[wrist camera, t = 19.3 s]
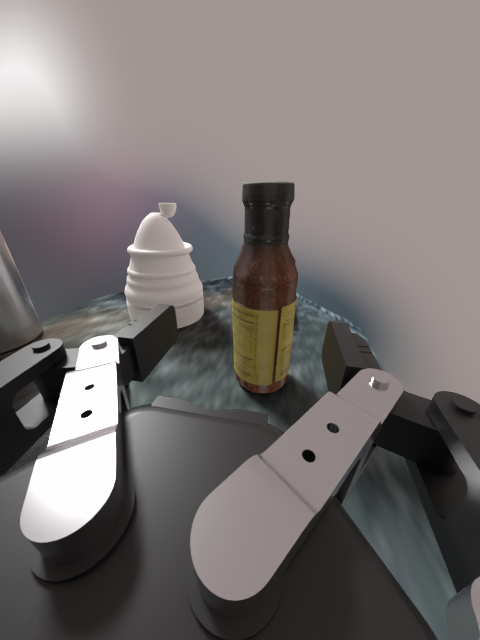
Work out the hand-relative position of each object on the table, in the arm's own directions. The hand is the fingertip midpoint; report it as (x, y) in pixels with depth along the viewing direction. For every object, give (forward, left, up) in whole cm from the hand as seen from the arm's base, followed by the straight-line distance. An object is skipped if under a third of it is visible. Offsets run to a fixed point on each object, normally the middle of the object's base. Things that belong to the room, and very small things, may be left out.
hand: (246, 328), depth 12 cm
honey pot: (-18, +25, -13) cm, 33 cm away
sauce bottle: (0, +11, -13) cm, 17 cm away
